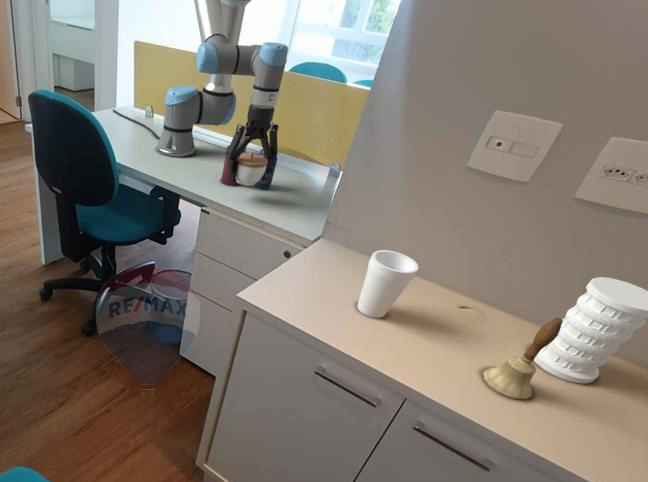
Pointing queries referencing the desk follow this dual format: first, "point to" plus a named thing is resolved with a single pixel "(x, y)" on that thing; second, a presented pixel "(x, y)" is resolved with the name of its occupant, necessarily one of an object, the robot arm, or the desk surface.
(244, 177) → the trinket box
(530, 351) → the hand bell
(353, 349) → the desk surface
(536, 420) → the desk surface
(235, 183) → the aluminium can
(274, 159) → the soda can
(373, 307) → the foam cup
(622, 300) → the decorative container
